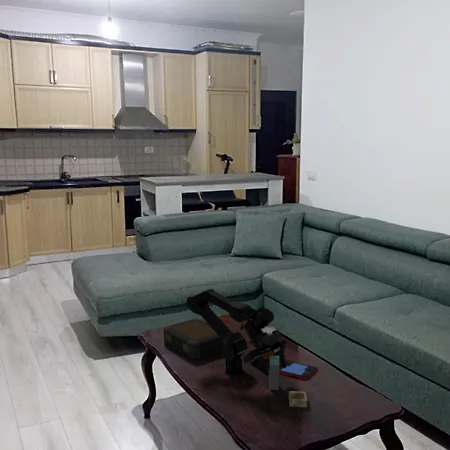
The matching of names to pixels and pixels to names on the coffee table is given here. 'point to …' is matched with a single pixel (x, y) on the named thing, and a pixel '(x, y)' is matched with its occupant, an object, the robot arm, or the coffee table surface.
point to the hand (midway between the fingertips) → (277, 371)
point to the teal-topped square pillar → (274, 372)
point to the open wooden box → (297, 399)
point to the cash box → (193, 338)
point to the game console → (297, 370)
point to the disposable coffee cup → (269, 331)
